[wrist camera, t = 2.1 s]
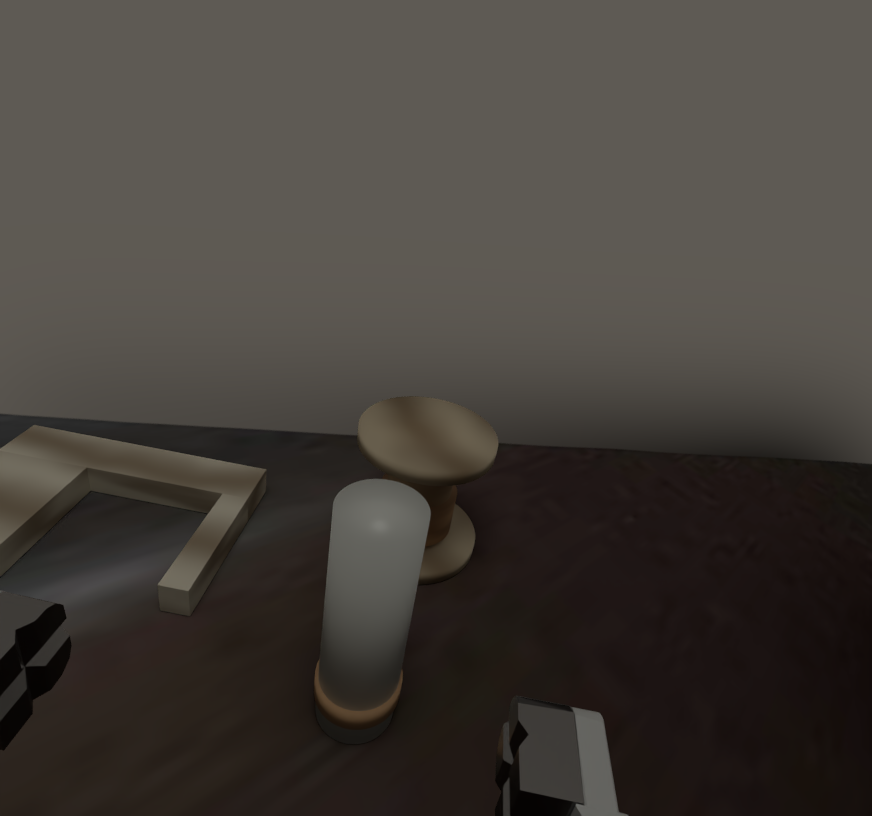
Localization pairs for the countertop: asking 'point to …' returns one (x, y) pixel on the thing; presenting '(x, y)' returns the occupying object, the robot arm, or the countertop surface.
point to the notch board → (131, 478)
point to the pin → (368, 606)
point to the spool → (432, 468)
